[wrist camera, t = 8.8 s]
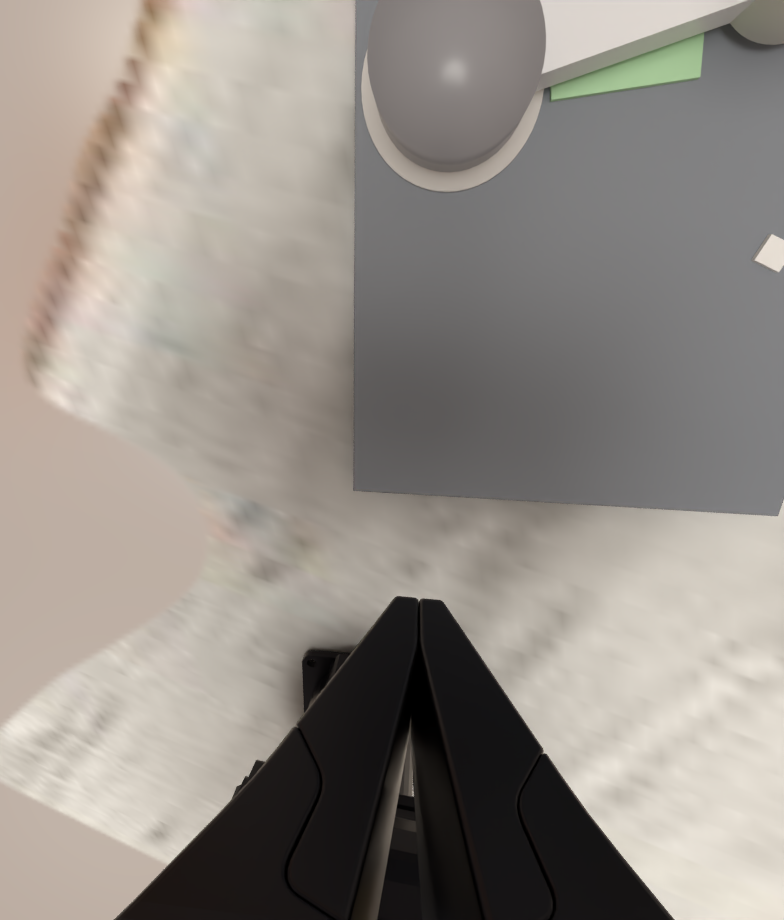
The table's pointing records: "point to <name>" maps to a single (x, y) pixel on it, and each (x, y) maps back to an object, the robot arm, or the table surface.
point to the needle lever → (516, 60)
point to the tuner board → (582, 292)
